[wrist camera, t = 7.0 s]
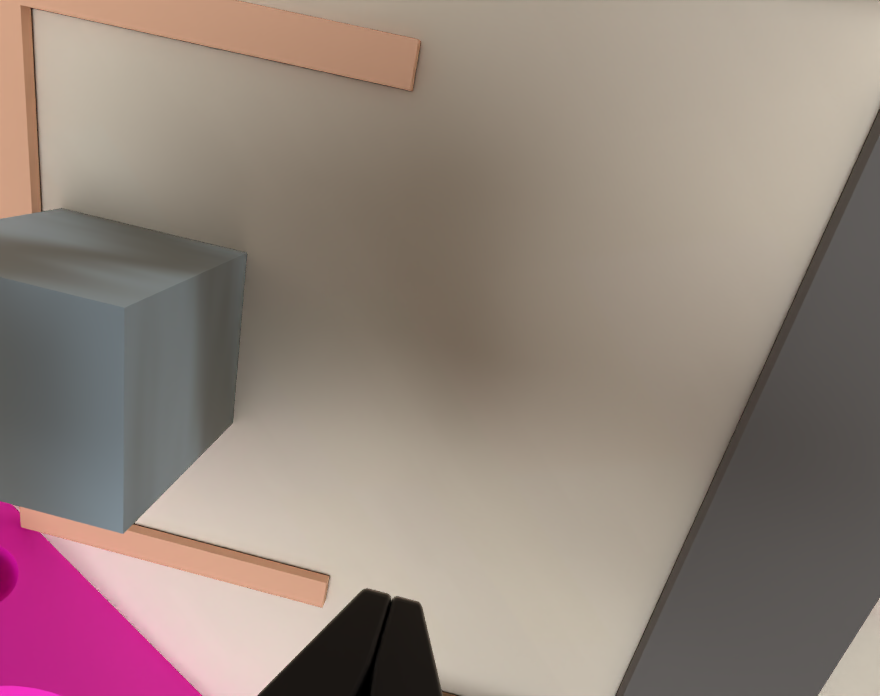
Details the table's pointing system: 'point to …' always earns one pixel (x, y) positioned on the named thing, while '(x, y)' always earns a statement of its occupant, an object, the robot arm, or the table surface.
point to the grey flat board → (789, 493)
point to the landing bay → (18, 193)
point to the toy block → (67, 629)
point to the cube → (110, 362)
